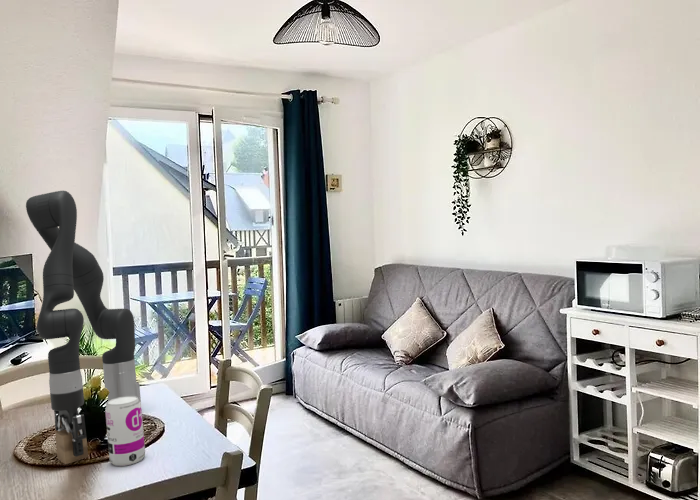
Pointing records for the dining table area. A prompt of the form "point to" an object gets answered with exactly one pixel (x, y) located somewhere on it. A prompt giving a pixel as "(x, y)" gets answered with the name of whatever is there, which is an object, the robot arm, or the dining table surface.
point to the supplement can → (125, 430)
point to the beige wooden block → (68, 447)
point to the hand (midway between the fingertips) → (72, 451)
